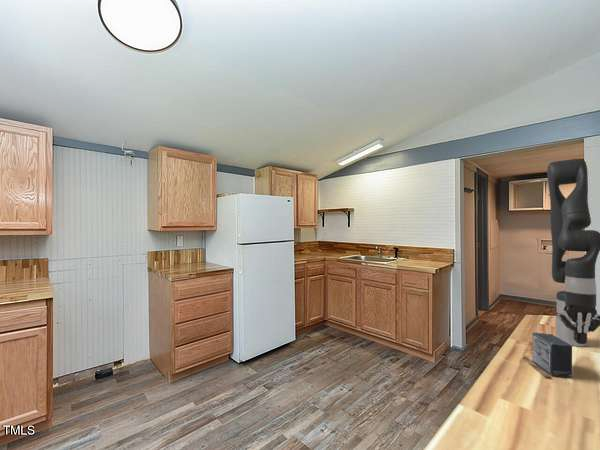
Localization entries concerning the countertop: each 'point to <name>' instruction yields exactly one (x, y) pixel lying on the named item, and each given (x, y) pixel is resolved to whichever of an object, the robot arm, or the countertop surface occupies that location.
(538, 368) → the stop strip
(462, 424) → the countertop surface
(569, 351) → the small box
